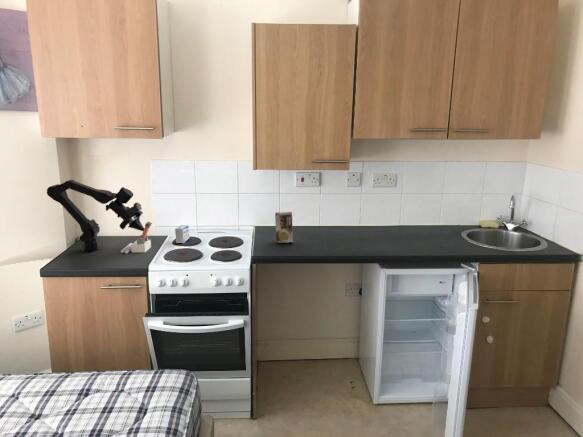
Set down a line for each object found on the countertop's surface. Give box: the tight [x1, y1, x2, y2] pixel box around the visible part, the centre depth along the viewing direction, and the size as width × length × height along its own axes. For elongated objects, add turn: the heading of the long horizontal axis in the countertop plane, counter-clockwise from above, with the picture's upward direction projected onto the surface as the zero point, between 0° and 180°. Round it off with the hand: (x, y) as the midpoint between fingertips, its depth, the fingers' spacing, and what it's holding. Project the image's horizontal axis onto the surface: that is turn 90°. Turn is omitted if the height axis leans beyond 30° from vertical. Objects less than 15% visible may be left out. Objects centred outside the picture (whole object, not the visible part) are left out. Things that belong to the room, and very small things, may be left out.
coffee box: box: [274, 211, 294, 243], centre depth 240 cm, size 9×6×16 cm
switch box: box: [131, 234, 152, 253], centre depth 233 cm, size 7×9×7 cm
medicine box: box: [174, 224, 190, 244], centre depth 245 cm, size 8×4×9 cm, turn 168°
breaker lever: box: [141, 221, 153, 239], centre depth 232 cm, size 2×3×10 cm, turn 0°
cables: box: [120, 242, 134, 255], centre depth 234 cm, size 15×4×2 cm, turn 178°
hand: (144, 230), depth 232 cm, fingers closed, pressing on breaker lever
